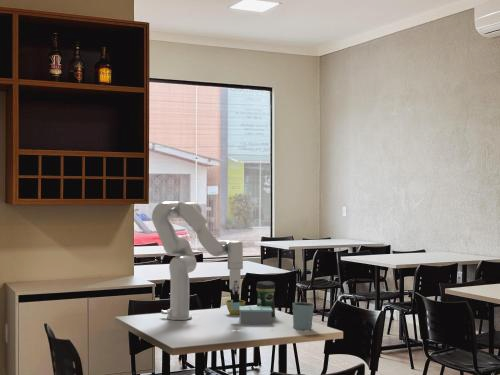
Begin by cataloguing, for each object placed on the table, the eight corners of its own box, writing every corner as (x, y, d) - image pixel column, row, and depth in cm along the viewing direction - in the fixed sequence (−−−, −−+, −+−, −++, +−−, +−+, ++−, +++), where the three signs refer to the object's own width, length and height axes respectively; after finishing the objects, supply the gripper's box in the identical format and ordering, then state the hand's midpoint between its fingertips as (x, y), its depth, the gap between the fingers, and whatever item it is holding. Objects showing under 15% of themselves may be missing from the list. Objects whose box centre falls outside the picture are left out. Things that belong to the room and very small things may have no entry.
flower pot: (249, 315, 365) (249, 301, 365) (234, 317, 358) (234, 303, 359) (237, 312, 373) (237, 299, 373) (222, 314, 366) (222, 300, 366)
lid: (231, 313, 337) (231, 302, 337) (230, 309, 348) (230, 298, 348) (272, 313, 338) (272, 302, 338) (270, 309, 349) (270, 299, 349)
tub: (240, 324, 338) (240, 311, 338) (239, 321, 348) (239, 308, 348) (271, 324, 339) (271, 311, 339) (269, 321, 349) (269, 308, 349)
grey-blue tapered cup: (288, 327, 332) (289, 302, 333) (307, 326, 336) (307, 301, 337) (298, 331, 323) (298, 305, 323) (317, 330, 327) (317, 304, 327)
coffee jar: (269, 315, 366) (269, 279, 366) (277, 317, 359) (277, 281, 359) (253, 316, 361) (253, 280, 361) (261, 319, 354) (261, 282, 354)
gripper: (226, 264, 351) (227, 298, 351) (228, 267, 334) (228, 303, 333) (241, 264, 352) (242, 298, 351) (243, 267, 334) (244, 303, 334)
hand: (235, 300), depth 342 cm, fingers open, 9 cm apart
